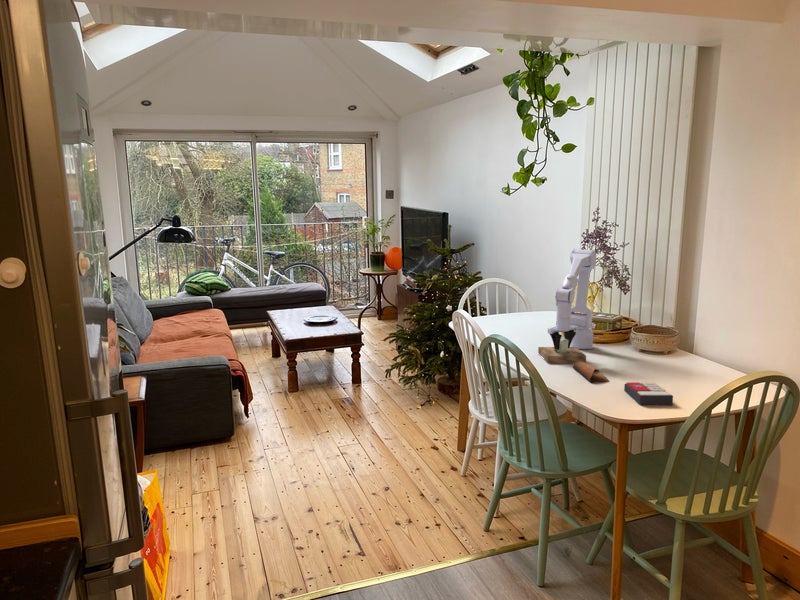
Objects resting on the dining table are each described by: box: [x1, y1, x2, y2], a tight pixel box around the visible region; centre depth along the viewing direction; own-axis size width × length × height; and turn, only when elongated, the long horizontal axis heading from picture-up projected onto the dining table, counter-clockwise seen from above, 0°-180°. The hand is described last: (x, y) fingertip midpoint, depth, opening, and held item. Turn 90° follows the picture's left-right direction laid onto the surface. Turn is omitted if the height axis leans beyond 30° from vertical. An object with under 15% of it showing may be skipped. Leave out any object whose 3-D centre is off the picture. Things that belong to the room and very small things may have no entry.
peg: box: [557, 337, 569, 353], centre depth 255 cm, size 4×4×8 cm
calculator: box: [623, 381, 674, 407], centre depth 209 cm, size 11×4×15 cm
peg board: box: [537, 346, 587, 364], centre depth 255 cm, size 16×14×3 cm
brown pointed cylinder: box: [572, 361, 611, 384], centre depth 233 cm, size 18×7×7 cm, turn 5°
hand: (561, 348), depth 255 cm, fingers open, 5 cm apart
